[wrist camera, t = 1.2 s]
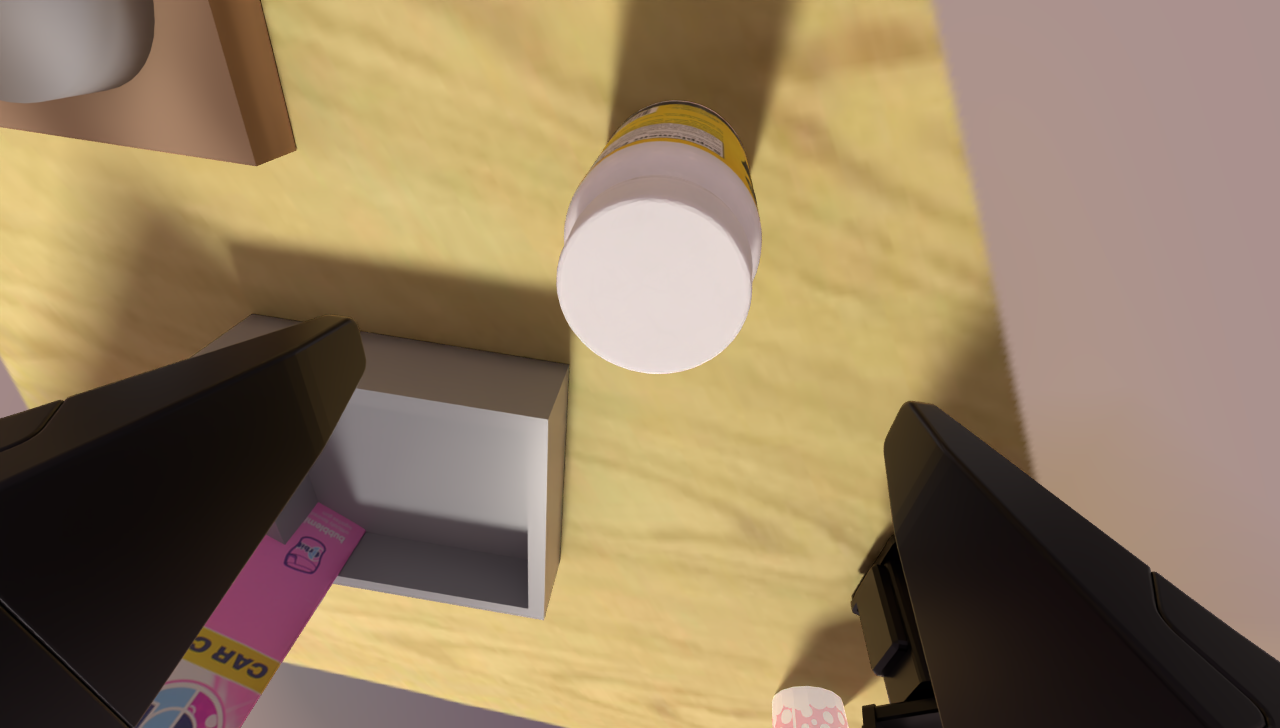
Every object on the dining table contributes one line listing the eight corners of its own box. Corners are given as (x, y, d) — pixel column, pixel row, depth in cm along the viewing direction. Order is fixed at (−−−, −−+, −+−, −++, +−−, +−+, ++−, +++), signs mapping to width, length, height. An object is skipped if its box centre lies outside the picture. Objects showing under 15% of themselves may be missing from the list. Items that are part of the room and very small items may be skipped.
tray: (569, 364, 23) (548, 419, 20) (559, 560, 30) (544, 620, 28) (252, 313, 23) (186, 360, 20) (324, 520, 31) (284, 575, 28)
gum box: (236, 651, 41) (63, 894, 30) (128, 603, 39) (-103, 850, 28) (375, 522, 30) (177, 839, 19) (236, 442, 27) (-89, 756, 16)
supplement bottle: (730, 256, 19) (739, 408, 12) (598, 234, 19) (533, 372, 12) (766, 109, 16) (803, 199, 9) (611, 84, 16) (536, 155, 10)
